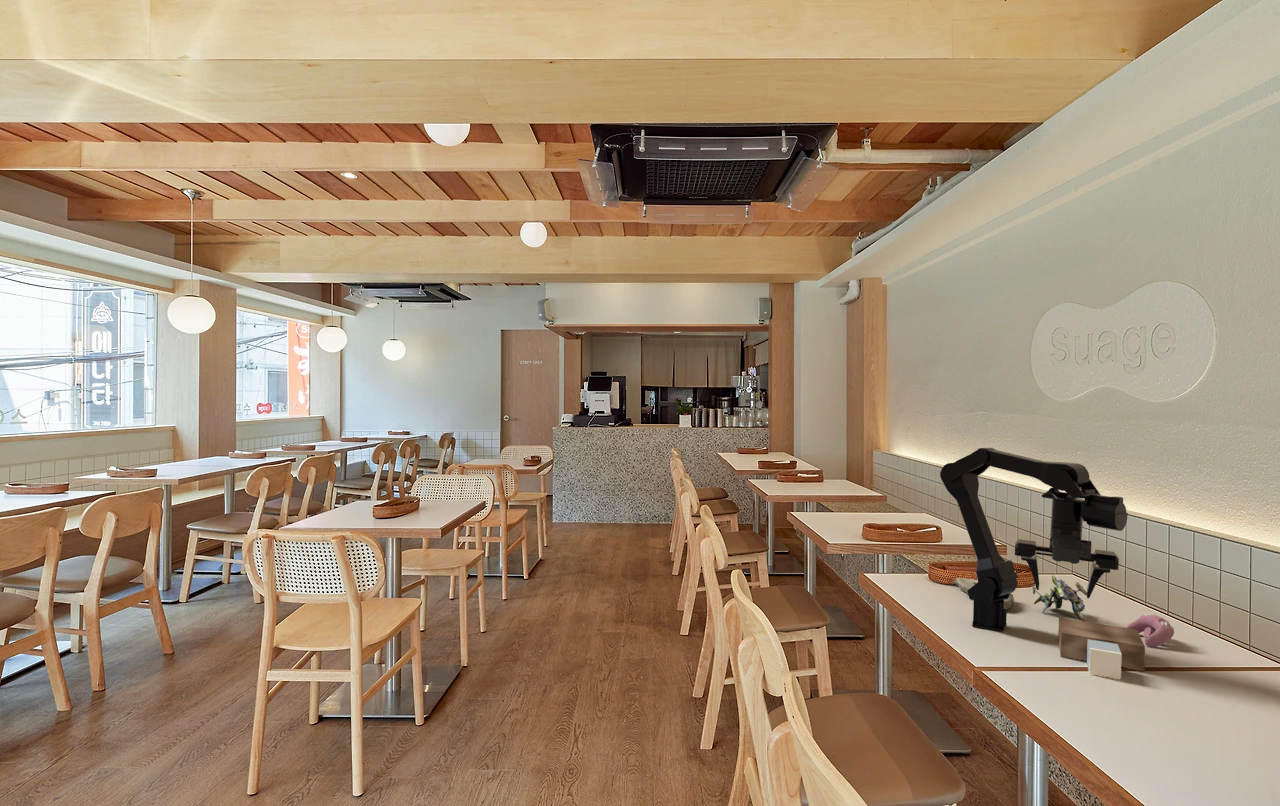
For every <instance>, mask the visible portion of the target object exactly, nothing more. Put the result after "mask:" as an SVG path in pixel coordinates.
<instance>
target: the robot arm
mask: <svg viewBox="0 0 1280 806" xmlns="http://www.w3.org/2000/svg"><path fill="white" fill-rule="evenodd" d="M990 467H993V468H997V469H1001V470H1004V471H1007V472H1012V473H1016V474H1020V475H1023V476H1028V477H1031V478H1034V479H1036V480H1038V481H1039V482H1041V483H1042V484H1045V485H1047V486H1049V487H1050V488H1049V489H1048V490H1047V491H1045V492H1044V493H1042V494H1041V497H1042V498H1044V499H1051V501H1052V503H1051V518H1050V531H1049V532H1050V535H1049V546H1042V545H1037V541H1034V540H1028V539H1020V538H1018V539H1017V540H1016V541H1015V546H1014V556H1017V557H1021V558H1020V560H1021V561H1023V562H1024V561H1025V562H1026V563H1027V565H1028V567H1029V569H1030V572H1031V574H1032V579H1033V581H1034V585H1035V588H1036V589H1035V590H1036V591H1039V589H1040V577H1039V567H1038V565H1039V564H1038V555H1040V556H1047V557H1051V558H1052V560H1053V561H1055V562H1059V563H1060V562H1065V563H1071V564H1076V565H1077V564H1079V563H1080V561H1082V562H1090V563H1091V567H1090V572H1089V578H1088V583H1087V588H1086V592H1087V596H1086V599H1090V598H1091V596H1092V594H1093V592H1094V589H1095V587H1096V585H1097V583H1098V581H1099V580H1100V578H1101V577H1102V576H1103V575H1104V574H1105V573H1107V574H1110V573H1111V570H1113V571H1118V570H1119V567H1120V564H1119V563H1120V560H1119V559H1120V558H1119V556H1118V555H1117V553H1116V552H1115V551H1110V550H1104V549H1103V550H1102V549H1094V552H1092V547H1093V546H1092V544H1093V543H1092V541H1091V540H1085V539H1083V538H1082V537H1083V522H1086V524H1087V526H1089V527H1094V528H1101V529H1107V530H1113V531H1116V532H1117V531H1118V532H1122V531H1123V530H1124V529H1125V527H1126V526H1127V522H1128V518H1129V516H1128V512H1127V508H1126V504H1125V503H1124V497H1123V496H1108V495H1102V494H1101V493H1100V492H1099V490H1098V489H1097V487H1096V485H1095V484H1094V483H1093V481H1092V480H1091V478H1090V473H1089V471H1088V469H1087V468H1086V466H1085V465H1083V464H1081V463H1076V462H1065V461H1064V462H1063V461H1046V460H1045V461H1043V460H1041V459H1040V460H1039V459H1035V458H1031V457H1027V456H1023V455H1019V454H1015V453H1010V452H1006V451H1003V450H997V449H995V448H993V447H981V448H980V447H979V448H977V449H976V450H974V451H973V452H971V453H970V454H968V455H966V456H964V457H961V458H960V459H957V460H956V461H954V462H948V463H946V464H944V465H943V466H942V468H941V470H940V471H939V477H940V480H941V482H942V483H943V485H944V487H945V490H946V491H947V492H948V493H949V494H950V495H951V497H953V499H955V501H956V503H957V505H958V508H959V511H960V514H961V516H962V520H963V522H964V525H965V527H966V531H967V533H968V537H969V540H970V542H971V545H972V548H973V550H974V553H975V556H976V560H977V561H976V568H975V569H976V571H975V574H976V575H977V580H978V583H976V584H975V585H974V586H972V587H971V588H970V589H968V591H967V592H968V595H969V596H968V595H967V596H968V599H969V600H971V601H973V607H972V609H973V611H972V613H973V614H972V615H973V616H972V621H971V622H972V623H971V626H972V627H976V628H979V629H987V630H993V631H998V632H1004V631H1005V630H1004V628H1007V613H1008V612H1007V611H1008V609H1007V608H1006V607H1004V600H1005V599H1006V600H1007V599H1008V598H1009V596H1010V593H1011V594H1013V593H1014V592H1015V591H1016V589H1017V587H1018V580H1017V579H1019V574H1017V572H1016V570H1015V566H1014V562H1013V560H1005V559H1004V558H1003V557H1002V556H1001V554H1000V553H999V551H998V548H997V546H996V545H997V544H996V542H995V540H994V536H993V534H992V531H991V529H990V526H989V524H988V520H987V518H986V515H985V512H984V509H983V507H982V505H981V501H980V499H979V486H980V483H979V477H978V476H980V475H982V474H983V473H985V472H986V471H987V470H988V469H989V468H990Z"/></svg>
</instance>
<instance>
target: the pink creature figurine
mask: <svg viewBox="0 0 1280 806" xmlns="http://www.w3.org/2000/svg"><path fill="white" fill-rule="evenodd" d="M1125 628H1131V629H1137V631H1138V633H1139V634H1140V633H1143V634H1142V635H1143V637H1144V638H1145V639H1144V645H1145V647H1148V648H1155V647H1159V646H1161V645H1163V644H1164V643H1166V642H1167V641H1169V640H1171V639H1172V638H1173V636H1174V634H1175V628H1174V627H1173V626H1172V625H1171V624H1170V623H1169V621H1168V620H1167V619H1165V618H1164V617H1162V616H1159V615H1157V614H1149V613H1145V614H1143V615H1141V616H1140V617H1139V618H1137V619H1136V620H1134V621H1131V623H1128V624H1127V626H1125Z"/></svg>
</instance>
